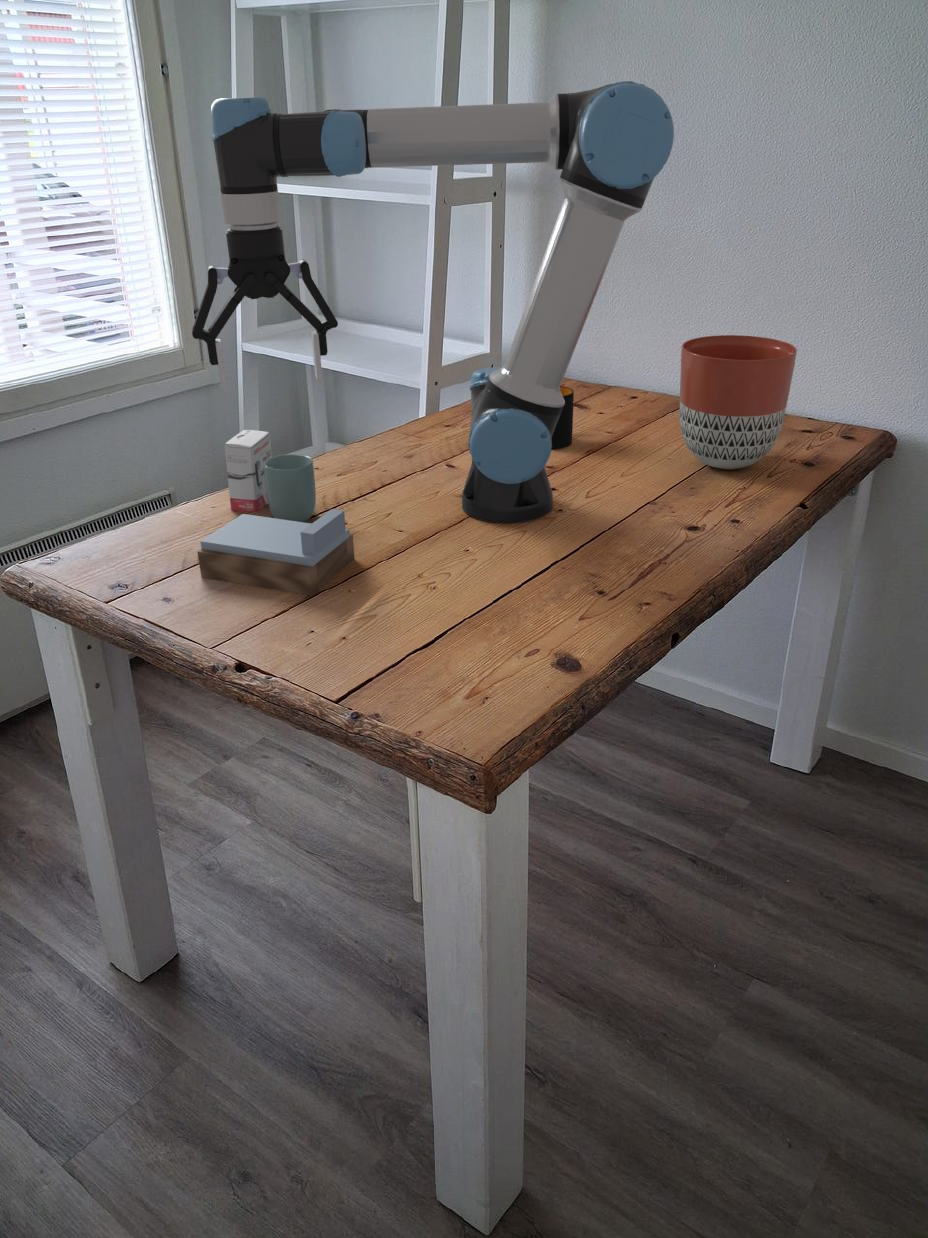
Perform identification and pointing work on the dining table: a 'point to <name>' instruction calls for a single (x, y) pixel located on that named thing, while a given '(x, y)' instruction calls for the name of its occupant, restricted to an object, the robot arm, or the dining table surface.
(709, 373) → the planter
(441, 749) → the dining table surface
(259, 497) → the ink box
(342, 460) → the dining table surface
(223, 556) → the box
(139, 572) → the dining table surface
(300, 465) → the cup
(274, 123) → the robot arm
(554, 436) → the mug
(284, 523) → the lid
